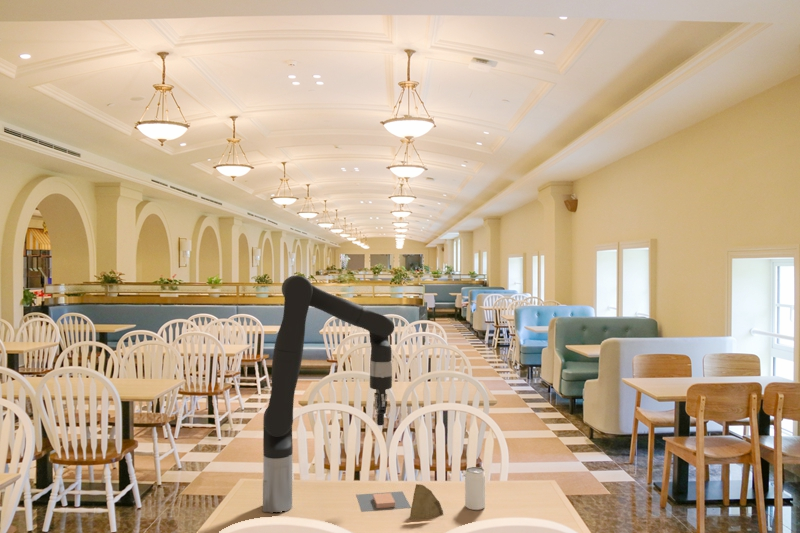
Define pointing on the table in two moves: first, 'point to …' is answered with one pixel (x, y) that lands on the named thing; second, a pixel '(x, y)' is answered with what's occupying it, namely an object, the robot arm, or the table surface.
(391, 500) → the tile
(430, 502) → the rock
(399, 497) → the mat
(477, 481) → the can
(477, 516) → the table surface
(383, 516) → the table surface
